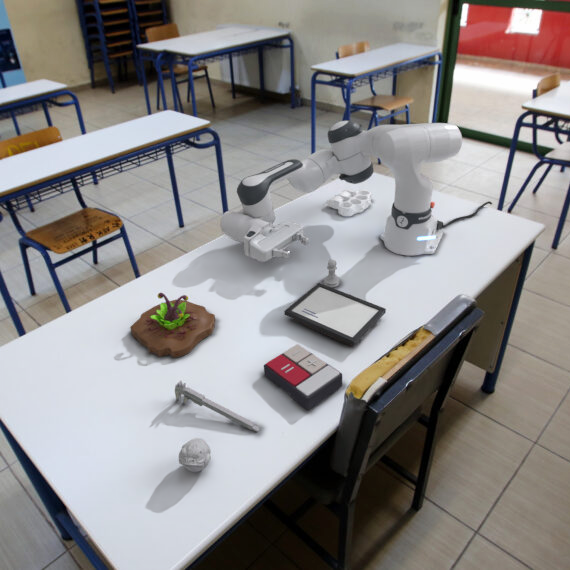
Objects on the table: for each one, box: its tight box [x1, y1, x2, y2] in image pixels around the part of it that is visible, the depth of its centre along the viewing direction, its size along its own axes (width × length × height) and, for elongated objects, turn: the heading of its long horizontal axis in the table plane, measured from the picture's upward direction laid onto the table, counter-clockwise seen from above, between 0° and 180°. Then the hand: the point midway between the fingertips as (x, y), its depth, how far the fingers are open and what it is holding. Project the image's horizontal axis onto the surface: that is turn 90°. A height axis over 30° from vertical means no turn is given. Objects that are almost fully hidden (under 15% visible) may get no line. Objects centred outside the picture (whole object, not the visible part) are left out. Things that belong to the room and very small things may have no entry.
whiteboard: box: [283, 282, 387, 347], centre depth 132 cm, size 16×21×3 cm
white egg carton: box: [326, 189, 373, 217], centre depth 189 cm, size 3×18×15 cm
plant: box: [129, 292, 216, 358], centre depth 128 cm, size 20×20×11 cm
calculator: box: [263, 344, 343, 411], centre depth 114 cm, size 11×4×15 cm
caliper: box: [174, 380, 261, 433], centre depth 106 cm, size 20×1×6 cm, turn 64°
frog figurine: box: [178, 437, 212, 473], centre depth 95 cm, size 6×7×7 cm
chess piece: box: [322, 259, 340, 288], centre depth 145 cm, size 5×5×8 cm
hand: (298, 248), depth 149 cm, fingers open, 8 cm apart
